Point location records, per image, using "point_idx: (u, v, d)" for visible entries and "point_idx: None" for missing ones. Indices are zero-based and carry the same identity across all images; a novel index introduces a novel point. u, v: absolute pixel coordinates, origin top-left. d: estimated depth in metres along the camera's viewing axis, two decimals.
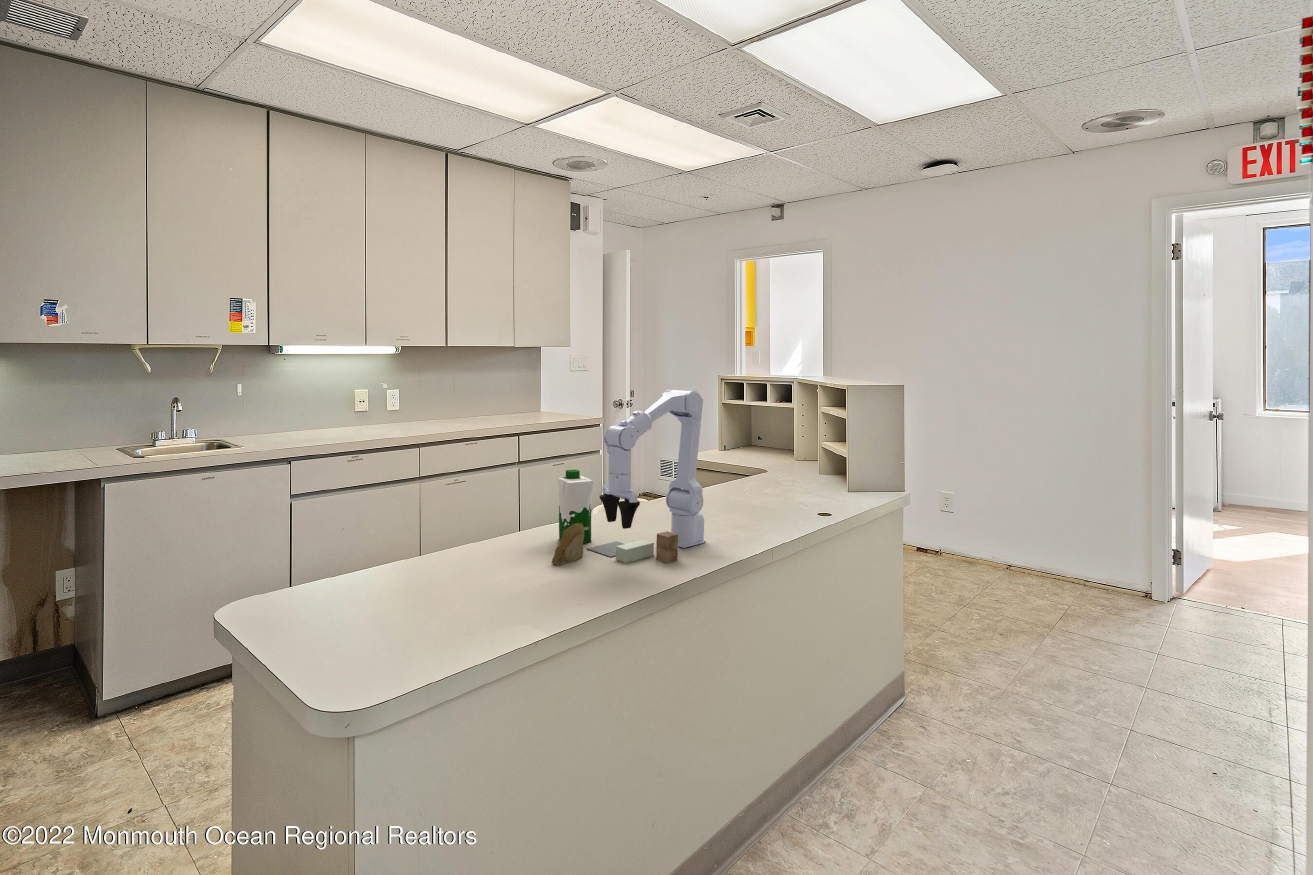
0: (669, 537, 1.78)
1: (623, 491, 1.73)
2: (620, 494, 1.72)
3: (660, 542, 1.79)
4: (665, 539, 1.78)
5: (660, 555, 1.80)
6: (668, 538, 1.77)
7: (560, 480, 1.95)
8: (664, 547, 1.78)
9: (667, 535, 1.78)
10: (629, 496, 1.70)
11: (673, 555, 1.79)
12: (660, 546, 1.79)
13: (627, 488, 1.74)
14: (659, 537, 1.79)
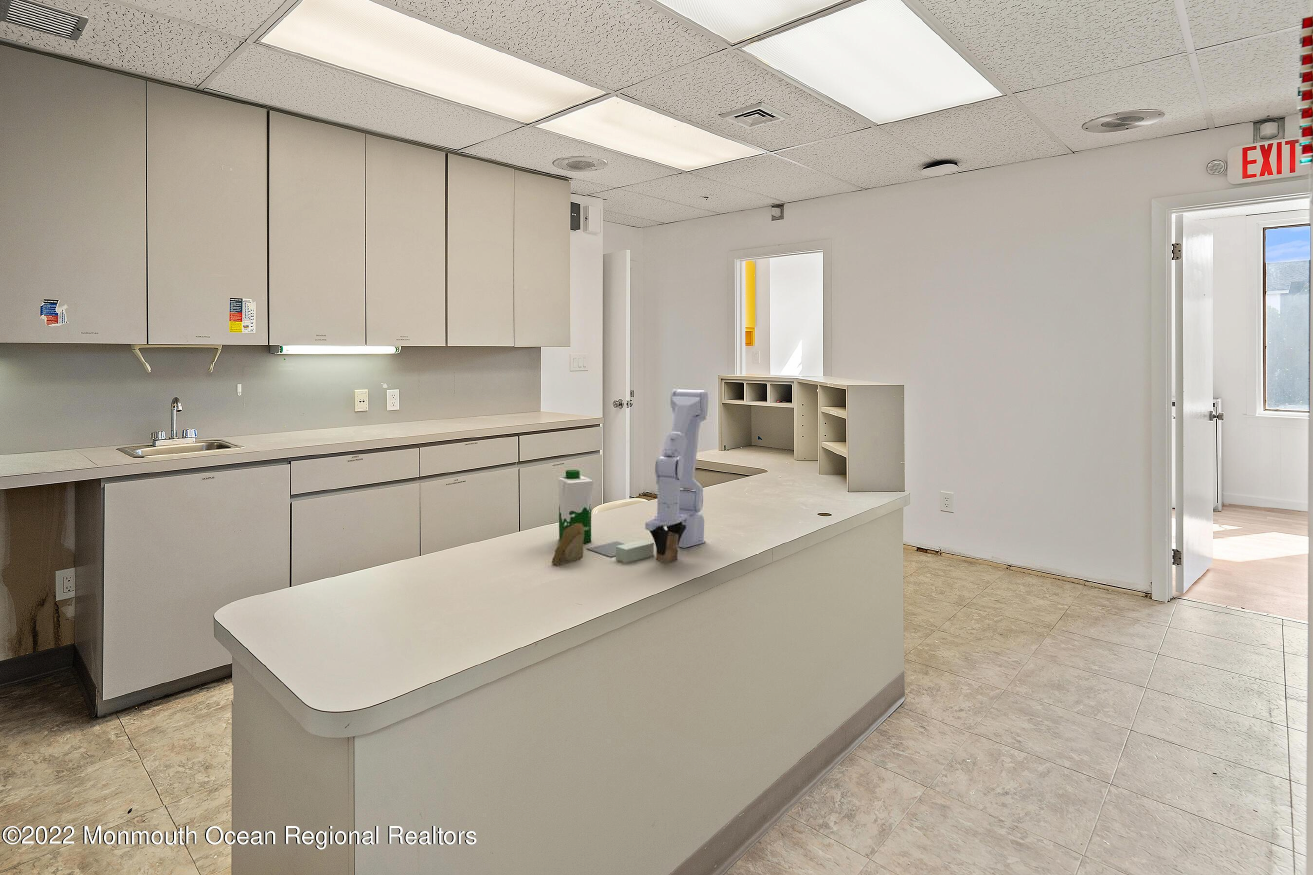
0: (669, 537, 1.78)
1: (658, 519, 1.78)
2: None
3: None
4: None
5: (660, 555, 1.80)
6: (668, 537, 1.77)
7: (560, 480, 1.95)
8: None
9: None
10: None
11: (673, 555, 1.79)
12: None
13: (662, 518, 1.77)
14: None
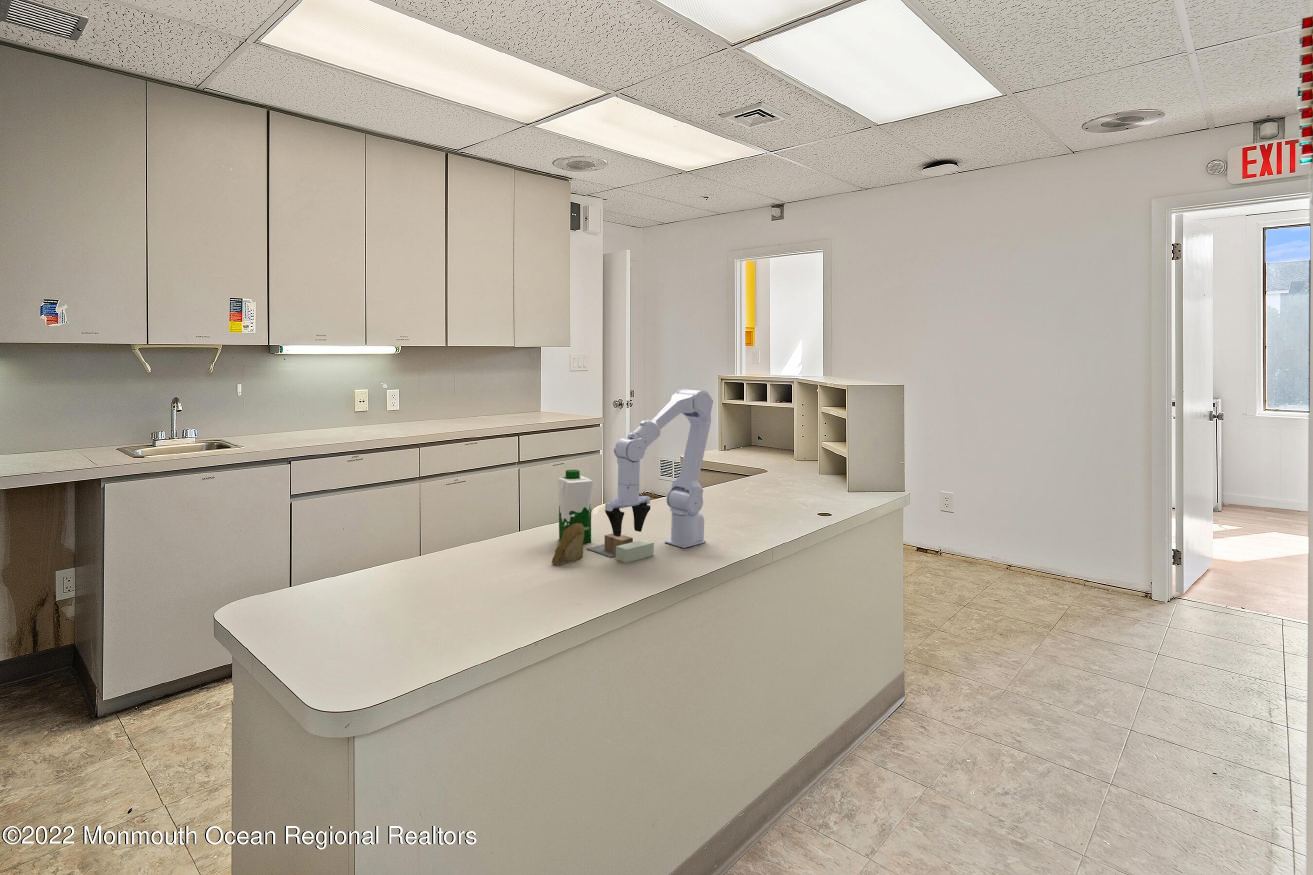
0: None
1: (619, 500, 1.81)
2: None
3: (609, 545, 1.86)
4: (606, 538, 1.87)
5: None
6: (606, 535, 1.87)
7: (560, 480, 1.95)
8: (612, 541, 1.85)
9: None
10: None
11: (624, 537, 1.85)
12: (612, 546, 1.85)
13: (622, 499, 1.80)
14: (606, 545, 1.87)
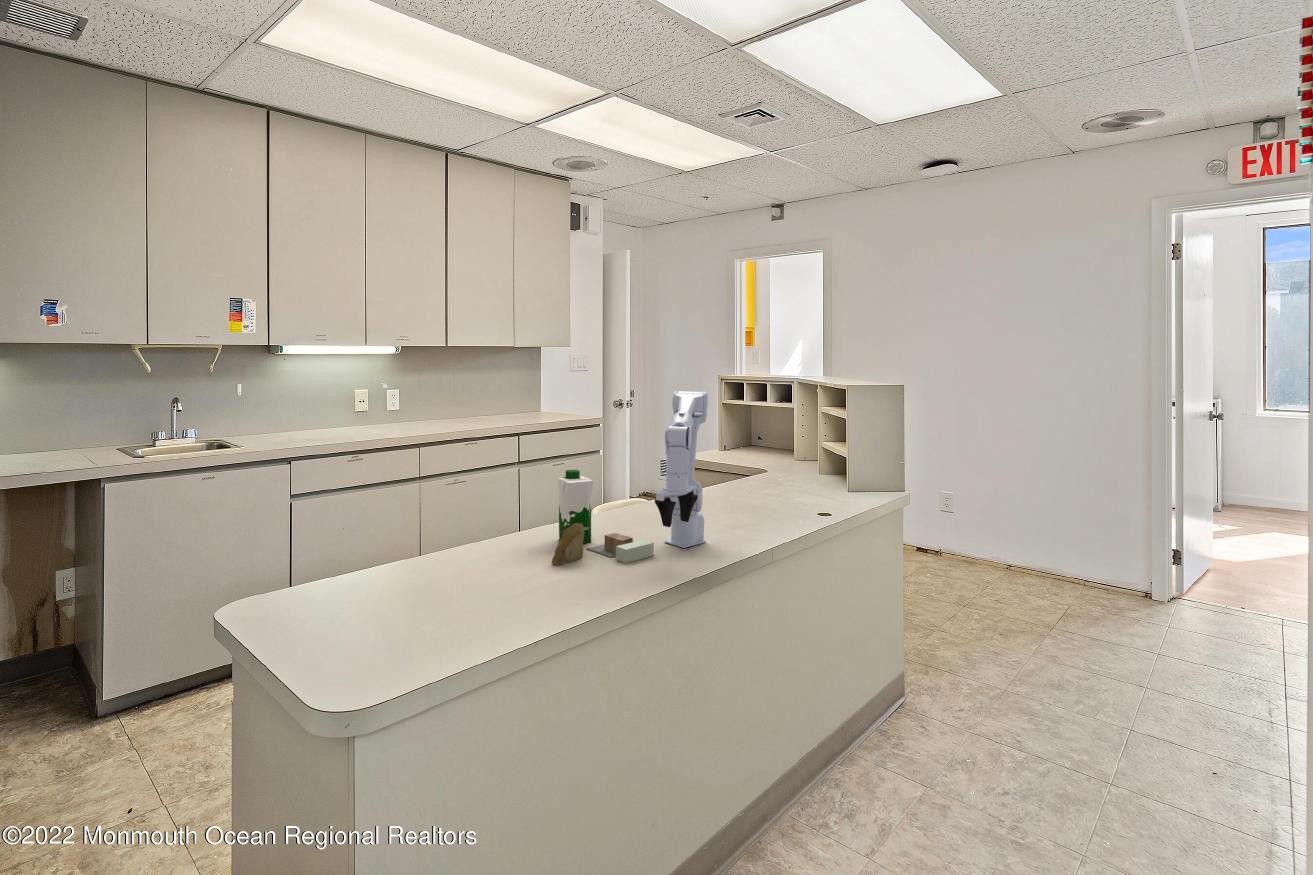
0: None
1: (668, 489, 1.76)
2: None
3: (609, 545, 1.86)
4: (606, 538, 1.87)
5: None
6: (606, 535, 1.87)
7: (560, 480, 1.95)
8: (612, 541, 1.85)
9: None
10: None
11: (624, 537, 1.85)
12: (612, 546, 1.85)
13: (672, 488, 1.75)
14: (606, 545, 1.87)
